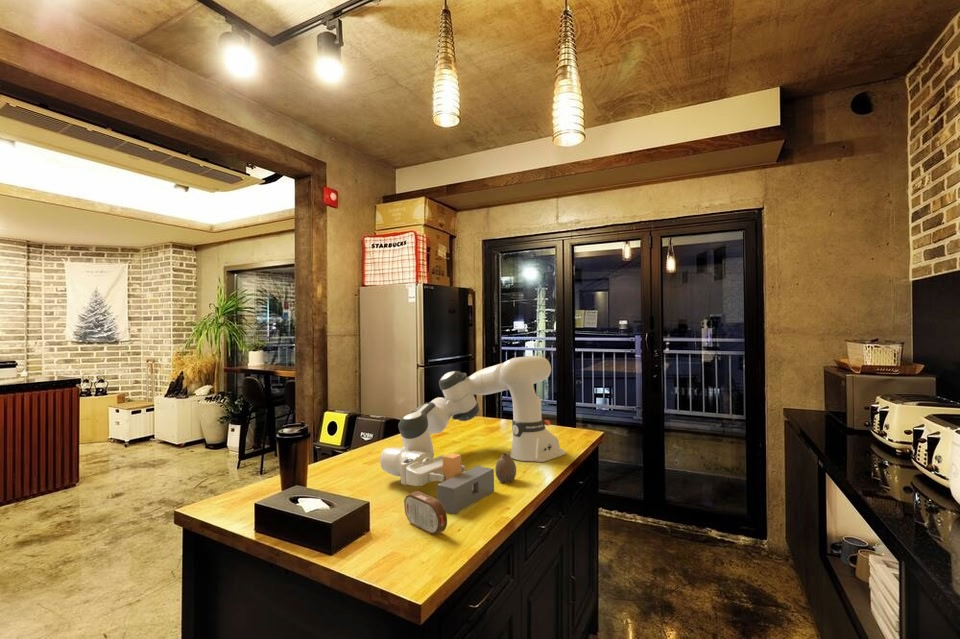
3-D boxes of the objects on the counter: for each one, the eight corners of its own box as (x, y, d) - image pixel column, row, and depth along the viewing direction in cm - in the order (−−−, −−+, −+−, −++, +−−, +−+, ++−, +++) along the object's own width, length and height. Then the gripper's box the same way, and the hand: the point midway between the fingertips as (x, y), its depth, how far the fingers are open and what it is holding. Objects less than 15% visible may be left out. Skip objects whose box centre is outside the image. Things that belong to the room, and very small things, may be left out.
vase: (518, 478, 150) (518, 452, 150) (513, 485, 144) (512, 458, 144) (499, 476, 152) (498, 450, 152) (492, 483, 146) (492, 456, 146)
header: (494, 491, 139) (493, 468, 139) (454, 514, 122) (454, 488, 122) (478, 487, 142) (477, 465, 142) (437, 509, 126) (437, 484, 126)
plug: (475, 498, 133) (474, 457, 133) (467, 502, 130) (466, 460, 130) (451, 492, 138) (450, 453, 138) (443, 496, 135) (442, 456, 135)
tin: (448, 536, 110) (447, 501, 110) (438, 540, 108) (437, 505, 108) (412, 518, 121) (411, 486, 121) (402, 522, 118) (401, 490, 118)
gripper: (441, 467, 151) (474, 474, 143) (397, 485, 134) (432, 494, 127) (440, 448, 151) (474, 454, 143) (397, 464, 134) (432, 472, 127)
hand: (454, 473), depth 135 cm, fingers open, 8 cm apart
